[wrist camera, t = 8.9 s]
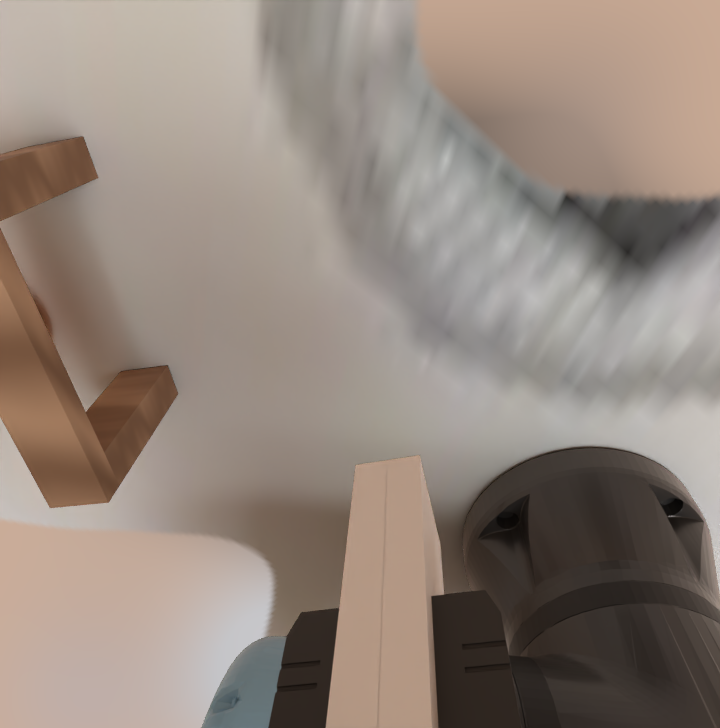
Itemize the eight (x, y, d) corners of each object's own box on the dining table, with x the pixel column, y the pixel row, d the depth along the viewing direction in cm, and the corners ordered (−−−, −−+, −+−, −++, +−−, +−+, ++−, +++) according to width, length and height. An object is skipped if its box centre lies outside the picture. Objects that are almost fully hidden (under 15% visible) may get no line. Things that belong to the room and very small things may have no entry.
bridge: (177, 393, 36) (108, 502, 28) (132, 399, 36) (50, 507, 28) (82, 136, 29) (-50, 175, 21) (27, 146, 30) (-124, 189, 21)
